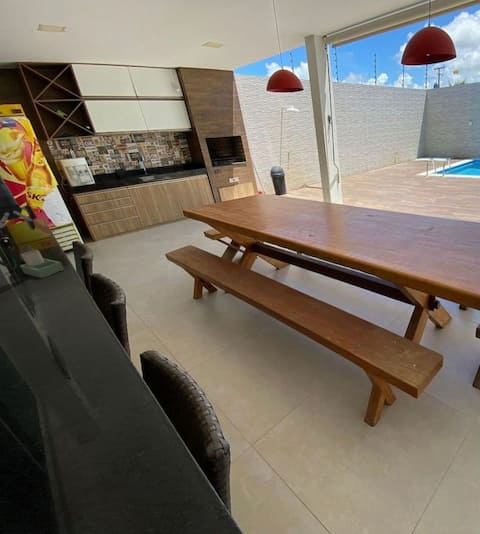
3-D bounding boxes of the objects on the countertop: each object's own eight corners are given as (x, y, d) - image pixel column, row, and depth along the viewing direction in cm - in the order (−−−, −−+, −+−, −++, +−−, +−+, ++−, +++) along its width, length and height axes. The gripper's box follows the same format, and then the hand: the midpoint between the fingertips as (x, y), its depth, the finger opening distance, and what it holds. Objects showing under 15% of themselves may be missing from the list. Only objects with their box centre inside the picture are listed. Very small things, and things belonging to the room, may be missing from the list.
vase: (23, 267, 146) (13, 250, 142) (25, 263, 151) (16, 246, 147) (43, 262, 150) (33, 246, 146) (44, 258, 155) (35, 242, 151)
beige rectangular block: (35, 274, 138) (25, 255, 134) (29, 272, 140) (19, 254, 136) (51, 268, 142) (41, 251, 138) (45, 267, 144) (35, 249, 140)
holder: (41, 278, 133) (37, 270, 131) (24, 273, 139) (19, 265, 138) (64, 270, 140) (60, 262, 138) (47, 265, 146) (43, 258, 144)
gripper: (17, 191, 134) (37, 227, 141) (-30, 199, 122) (-6, 237, 129) (25, 192, 131) (45, 228, 138) (-22, 200, 119) (2, 239, 126)
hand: (20, 232), depth 133 cm, fingers open, 8 cm apart
